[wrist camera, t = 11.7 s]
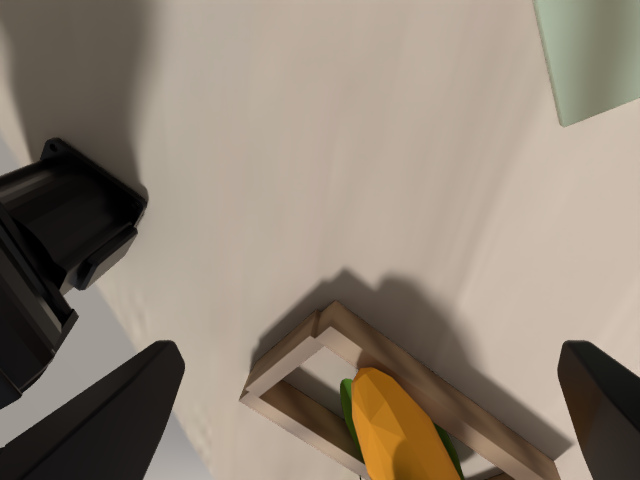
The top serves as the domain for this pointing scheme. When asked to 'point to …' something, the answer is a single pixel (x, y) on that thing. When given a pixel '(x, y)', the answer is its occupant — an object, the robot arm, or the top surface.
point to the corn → (395, 431)
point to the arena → (590, 54)
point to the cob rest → (416, 380)
